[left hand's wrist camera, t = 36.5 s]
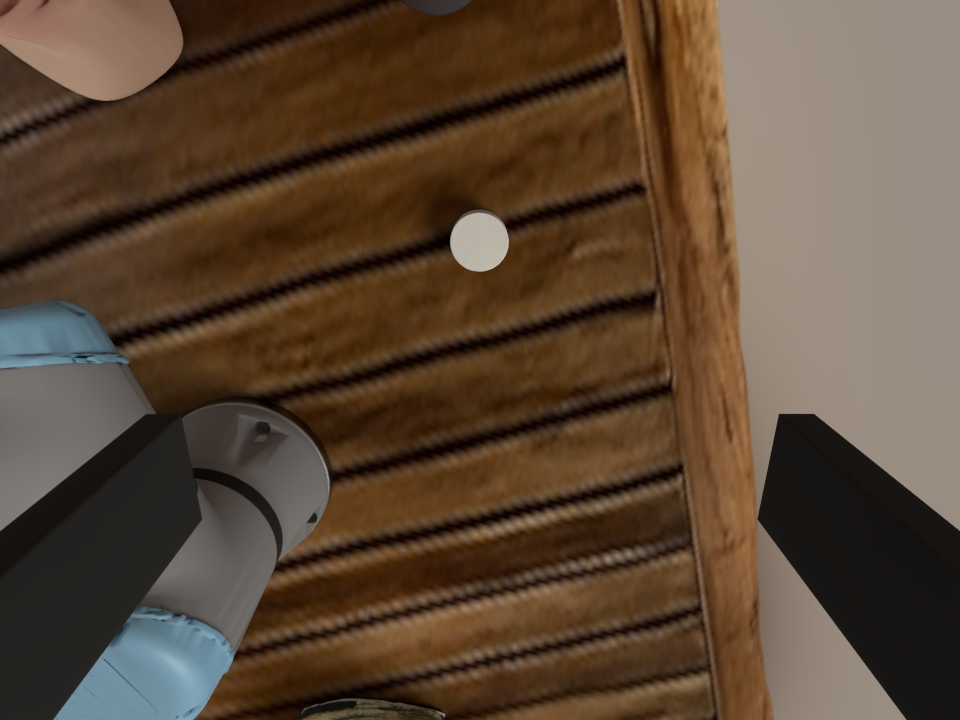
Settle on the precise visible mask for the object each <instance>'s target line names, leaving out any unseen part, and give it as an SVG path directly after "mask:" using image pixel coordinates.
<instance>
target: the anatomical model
mask: <svg viewBox="0 0 960 720" xmlns="http://www.w3.org/2000/svg"><path fill="white" fill-rule="evenodd" d="M0 44H1V45H3V46H4V47H5V48H7V49H8V50H9V51H10V52H12V53H13V54H14V55H16V56H17V57H19V58H20V59H22V60H23V61H25V62H26V63H28V64H29V65H31V66H32V67H34V68H35V69H37V70H38V71H40V72H41V73H43V74H44V75H46V76H48V77H49V78H51V79H52V80H54V81H56V82H58V83H59V84H61V85H63V86H65V87H66V88H68V89H70V90H72V91H74V92H76V93H78V94H81V95H83V96H86V97H89V98H92V99H96V100H104V101H109V100H117V99H121V98H124V97H127V96H130V95H132V94H135V93H136V92H138V91H140V90H142V89H144V88H145V87H147V86H148V85H150V84H151V83H153V82H154V81H155V80H157V79H158V78H159V77H160V76H161V75H163V74H164V73H165V72H166V71H167V70H168V69H169V68H170V67H171V66H172V65H173V64H174V63H175V62H176V60H177V59H178V57H179V55H180V54H181V51H182V47H183V36H182V31H181V28H180V25H179V22H178V19H177V17H176V14H175V12H174V10H173V8H172V6H171V3H170V1H169V0H0Z"/></svg>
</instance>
